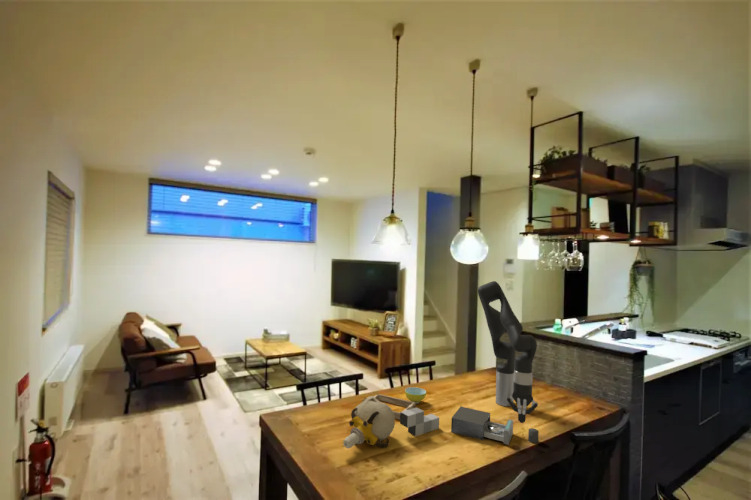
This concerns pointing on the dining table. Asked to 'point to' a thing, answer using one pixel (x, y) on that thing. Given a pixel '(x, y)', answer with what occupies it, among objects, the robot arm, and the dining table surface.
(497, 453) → the dining table surface
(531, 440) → the capsule
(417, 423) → the block
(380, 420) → the decorative object
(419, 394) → the bowl
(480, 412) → the housing
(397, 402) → the serving frame
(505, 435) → the tray
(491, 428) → the disc
